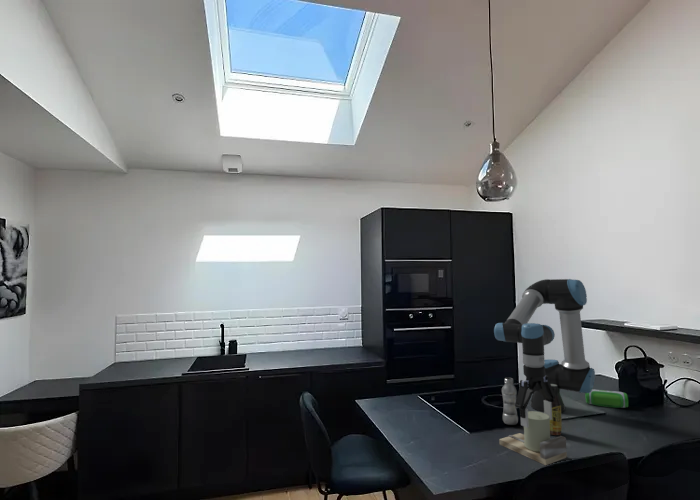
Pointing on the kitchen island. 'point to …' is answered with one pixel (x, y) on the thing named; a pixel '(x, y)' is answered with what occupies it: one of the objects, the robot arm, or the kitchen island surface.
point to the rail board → (526, 451)
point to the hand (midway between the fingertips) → (536, 422)
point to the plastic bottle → (509, 402)
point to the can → (536, 430)
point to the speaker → (607, 398)
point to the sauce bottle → (555, 414)
